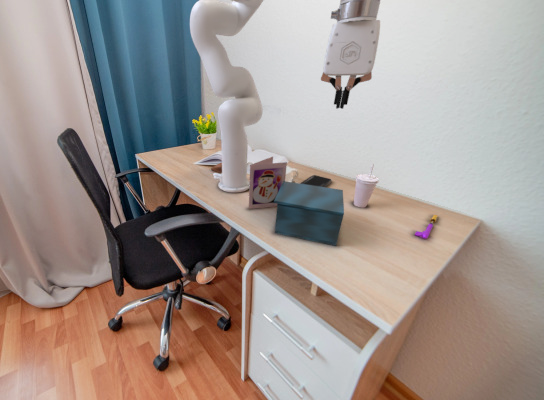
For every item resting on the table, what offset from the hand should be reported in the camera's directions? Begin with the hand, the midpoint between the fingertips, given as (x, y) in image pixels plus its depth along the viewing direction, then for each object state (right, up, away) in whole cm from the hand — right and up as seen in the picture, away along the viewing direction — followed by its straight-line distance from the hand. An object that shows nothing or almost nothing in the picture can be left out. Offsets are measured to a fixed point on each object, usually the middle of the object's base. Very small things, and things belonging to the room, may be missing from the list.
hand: (339, 107), depth 59 cm
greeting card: (-15, -24, +22) cm, 36 cm away
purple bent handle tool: (+28, -30, +8) cm, 42 cm away
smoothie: (+16, -24, +20) cm, 36 cm away
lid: (-5, -22, +6) cm, 23 cm away
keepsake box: (-5, -30, +10) cm, 32 cm away
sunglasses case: (-26, -7, +55) cm, 61 cm away
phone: (+7, -17, +34) cm, 39 cm away
